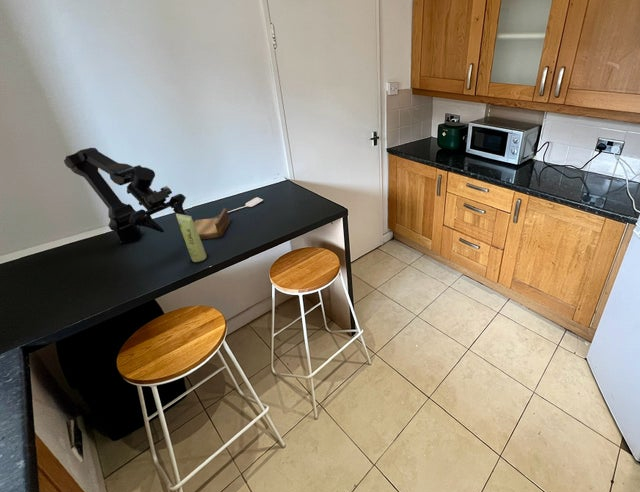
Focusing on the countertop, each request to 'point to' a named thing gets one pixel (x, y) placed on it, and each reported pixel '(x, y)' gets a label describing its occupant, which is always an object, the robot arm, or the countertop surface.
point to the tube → (191, 238)
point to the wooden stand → (213, 226)
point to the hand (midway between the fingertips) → (175, 225)
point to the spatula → (247, 204)
